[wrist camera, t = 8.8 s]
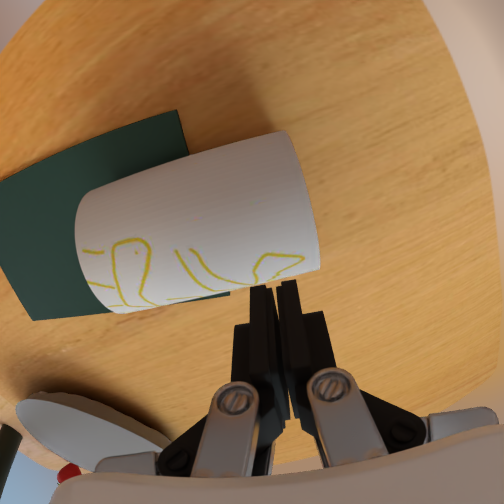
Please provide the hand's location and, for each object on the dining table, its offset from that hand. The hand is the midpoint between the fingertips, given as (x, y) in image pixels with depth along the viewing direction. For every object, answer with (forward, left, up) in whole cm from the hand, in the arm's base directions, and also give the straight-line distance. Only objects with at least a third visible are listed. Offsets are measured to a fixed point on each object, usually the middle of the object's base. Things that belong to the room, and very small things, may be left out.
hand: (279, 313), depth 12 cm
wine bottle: (+40, -67, -12) cm, 79 cm away
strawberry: (+50, -53, -12) cm, 74 cm away
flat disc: (+31, -32, -12) cm, 46 cm away
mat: (0, -16, -12) cm, 20 cm away
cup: (-1, +2, -8) cm, 8 cm away
